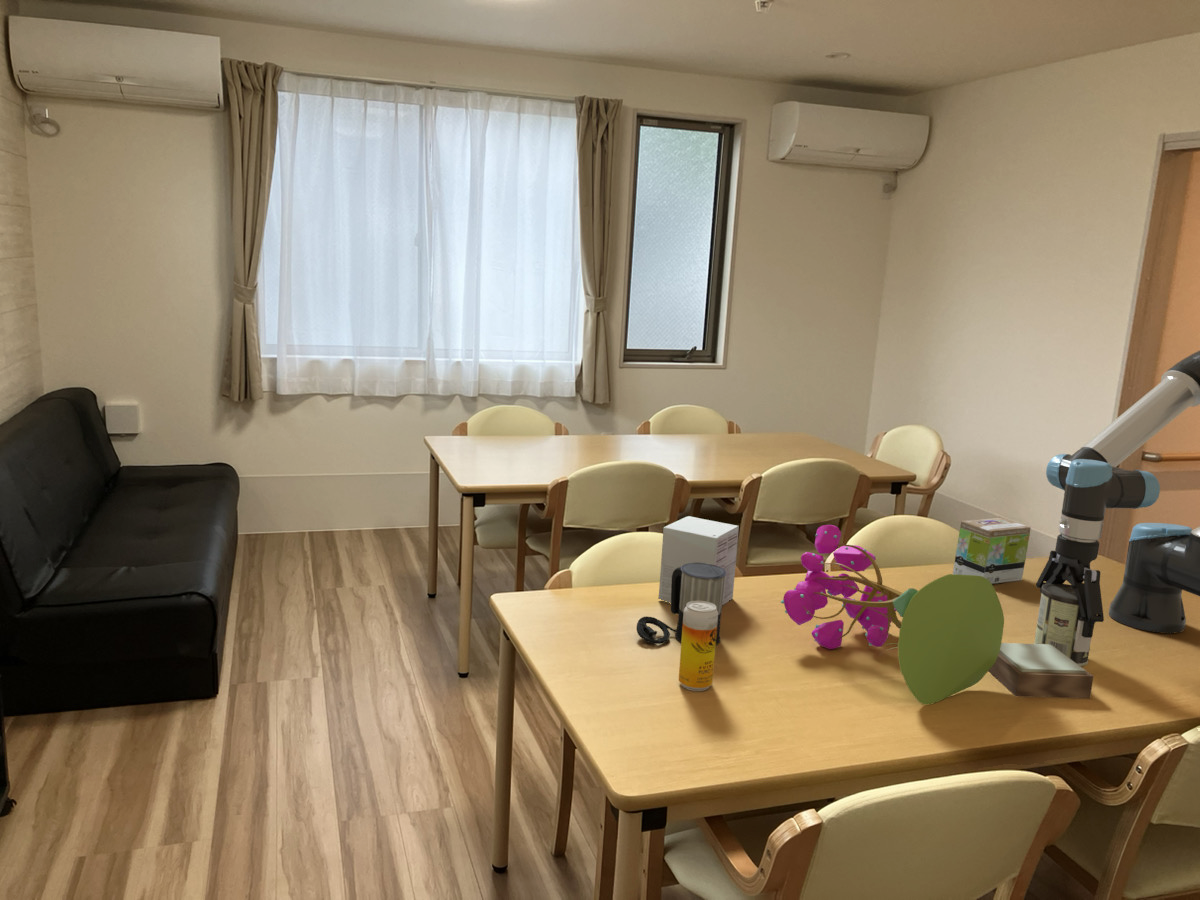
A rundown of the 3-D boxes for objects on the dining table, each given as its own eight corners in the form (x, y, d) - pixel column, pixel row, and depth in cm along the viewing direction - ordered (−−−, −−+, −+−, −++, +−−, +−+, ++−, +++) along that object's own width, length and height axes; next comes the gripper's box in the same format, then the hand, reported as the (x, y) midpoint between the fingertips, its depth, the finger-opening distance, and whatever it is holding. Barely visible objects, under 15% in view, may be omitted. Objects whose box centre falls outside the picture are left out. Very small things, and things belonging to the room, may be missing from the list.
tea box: (983, 587, 227) (991, 530, 224) (951, 574, 236) (958, 520, 233) (1023, 581, 234) (1032, 525, 231) (991, 569, 243) (998, 515, 240)
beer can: (703, 695, 159) (709, 614, 156) (672, 686, 162) (678, 606, 159) (717, 683, 164) (724, 605, 161) (687, 674, 167) (693, 597, 164)
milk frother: (730, 640, 184) (736, 570, 181) (681, 661, 173) (687, 587, 170) (675, 619, 194) (680, 553, 191) (626, 638, 182) (630, 567, 180)
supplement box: (734, 598, 209) (740, 525, 205) (710, 615, 198) (717, 537, 194) (682, 586, 215) (687, 514, 212) (656, 601, 204) (662, 526, 201)
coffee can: (1078, 650, 189) (1089, 586, 186) (1094, 670, 179) (1106, 602, 177) (1026, 643, 191) (1036, 580, 188) (1039, 663, 181) (1049, 596, 178)
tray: (1049, 666, 180) (1052, 642, 179) (1089, 698, 166) (1094, 673, 165) (980, 664, 179) (983, 640, 178) (1015, 696, 165) (1019, 670, 164)
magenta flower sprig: (913, 535, 156) (780, 513, 187) (882, 699, 155) (753, 650, 185) (1022, 562, 171) (882, 538, 201) (994, 713, 169) (858, 665, 200)
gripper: (1028, 519, 192) (1013, 614, 196) (1097, 555, 168) (1079, 662, 172) (1062, 521, 193) (1047, 615, 197) (1136, 557, 168) (1117, 663, 172)
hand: (1062, 637), depth 184 cm, fingers open, 13 cm apart
